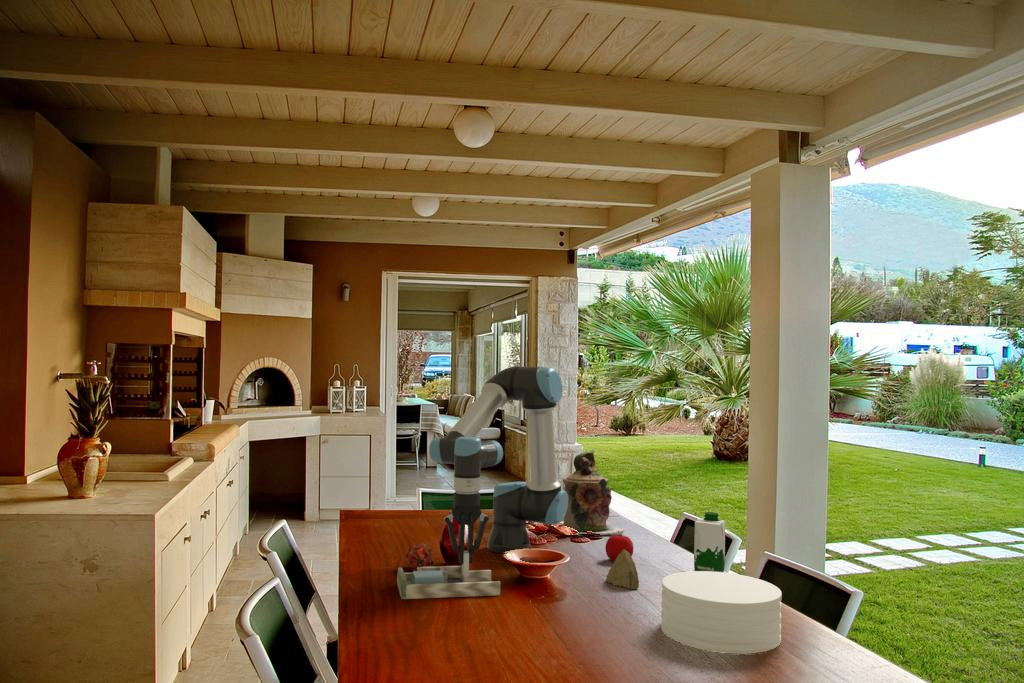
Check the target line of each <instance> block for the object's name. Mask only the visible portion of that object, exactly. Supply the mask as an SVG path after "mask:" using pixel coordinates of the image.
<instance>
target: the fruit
mask: <svg viewBox="0 0 1024 683" xmlns="http://www.w3.org/2000/svg"><path fill="white" fill-rule="evenodd" d="M618 534H619V531H618ZM623 549H624V550H626V551H627V552H629V553H630V555H631V557H633V555H634V544H633V540H631V538H630V537H628V536H627V535H616V534H615V535H610V536H609V537H608V539H607V540H606V543H605V554H606V556H607V557H608V558H609V560H610V561H613V562H615V560H616V558H617V557H618V555H619V554H620V553H621V551H622V550H623Z"/></svg>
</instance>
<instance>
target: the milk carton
mask: <svg viewBox="0 0 1024 683" xmlns="http://www.w3.org/2000/svg"><path fill="white" fill-rule="evenodd" d="M693 531H694V542H693V545H694V546H693V567H694V568H693V569H694V570H693V571H713V572H725V564H726V563H725V561H726V558H725V556H726V546H725V545H726V520H724V519H723V520H722V519H719V513H718V512H712V511H706V512H704V517H700V518H698V519H696V520H695V521H694V530H693Z"/></svg>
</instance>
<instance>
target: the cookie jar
mask: <svg viewBox="0 0 1024 683" xmlns="http://www.w3.org/2000/svg"><path fill="white" fill-rule="evenodd" d="M594 453H595V449H592V450H590V451H587V452H583V453H581V452H580V453H578V454H577V455H575V456H574V459H573V467H574V471H573V473H571V474H569V475H565V476H563V477H562V483H563V484H564V489H563V490H564V491H566V492H567V494H568V508H567V512H566V514H565V517H564V518H563V520H562V521H561V522H560V523H562V524H563V526H567V527H570V528H573V529H575V530H577V531H578V532H579V533H578V534H587V533H585V532H587V531H592V532H594V533H596V534H600V535H599V536H613V535H617V536H619V535H620V536H622V534H624V532H626V529H625V528H618V527H616V526H614V525H612V523H611V522H608V521H607V520H608V519H609V517H610V513H611V512H610V504H611V502H612V498H613V497H612V487H611V486H609V487H607V486H608V484H609V479H608V478H607V477H604V476H603V475H602V474H601V473H600V472H599V471H598V469H597V467H596V459H595V454H594ZM618 531H619V534H618Z"/></svg>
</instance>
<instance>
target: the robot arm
mask: <svg viewBox="0 0 1024 683" xmlns="http://www.w3.org/2000/svg"><path fill="white" fill-rule="evenodd" d="M480 390H481V391H480V394H479V395H478V397H476V399H474V401H473V402H472V404H471V405H470V406H469V407H468V408H467V410H466V411H465V412H464V413H463V415H462V416H461V417H459V420H457V422H456V423H455V424H454V426H453V427H452V428H451V429H450V430H449V431H448V433H447V434H446V435H445V437H441V436H440V437H435V438H433V439H432V440H431V442H430V443H429V448H428V454H429V456H430V459H431V460H432V461H433V462H436V463H440V464H448V465H449V464H451V465H453V466H454V468H453V470H454V474H453V476H454V477H453V490H454V492H453V507H452V510H451V513H449V514H447V515H445V516H444V517H443V520H444V521H445V523H446V525H447V529H448V534H449V537H450V543H451V547H452V550H453V551H454V552H457V553H458V563H459V565H461V566H462V575H463V577H468V576H469V571H470V565H471V564H473V561H474V560H473V559H474V557H473V555H474V553H475V551H479V549H480V547H481V543H482V539H483V535H484V532H485V528H486V524H487V523H488V521H489V519H490V517H489V516H488V514H484V513H483V512H482V509H481V493H480V490H481V470H482V469H484V468H488V467H494V466H496V465H497V464H499V463H501V461H502V460H503V457H504V451H503V450H504V449H503V446H502V445H501V444H500V442H498V441H497V440H489V439H487V440H482V439H481V438H480V437H477V436H478V434H480V432H481V431H482V429H483V428H484V427H485V426H486V425H487V423H488V422H489V421H490V419H491V418H492V417H493V416H494V414H496V411H497V410H499V408H502V407H505V405H506V404H507V403H508V402H511V401H512V402H513V401H516V402H517V401H520V402H521V408H522V409H523V410H524V411H525V412H526V414H527V433H528V448H529V464H530V465H529V466H530V481H528V482H526V481H511V482H510V481H509V482H502V483H498V484H496V485H494V487H493V488H494V489H493V495H492V498H493V499H492V500H493V501H492V528H491V531H490V533H489V536H488V539H487V541H486V542H487V543H486V549H487V548H488V549H489V550H488V549H487V550H488V551H490V550H492V551H491V552H493V551H495V552H494V553H498V552H501V553H500V554H504V553H503V552H505V551H510V550H515V549H523V548H530V549H531V542H530V537H529V535H528V534H529V533H528V529H527V525H526V524H527V522H531V523H537V524H545V525H549V524H559V523H560V522H561V521H563V518H564V517H565V514H566V512H567V508H568V494H567V492H566V491H564V489H562V483H561V482H560V480H558V478H557V472H556V471H557V469H556V453H555V452H556V450H555V449H556V448H555V434H554V432H555V430H554V419H553V417H554V416H553V415H554V414H553V411H554V410H555V409H556V407H557V403H559V402H560V401H561V399H562V397H563V394H562V393H563V382H562V378H561V376H560V373H558V372H557V370H556V369H554V368H553V367H547V366H546V367H545V366H510V367H507V368H504V369H502V370H501V371H499V372H497V373H496V374H494V375H493V376H491V377H490V378H489V379H488V380H487V381H486V382H485V383H484V385H483V386H482V387H481V389H480ZM454 520H455V521H456V522H457V523H458V543H457V538H456V534H455V529H454V525H453V521H454ZM478 520H479V524H478V527H477V532H476V536H475V539H474V528H475V523H476V522H477V521H478ZM466 526H467V550H465V529H466Z"/></svg>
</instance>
